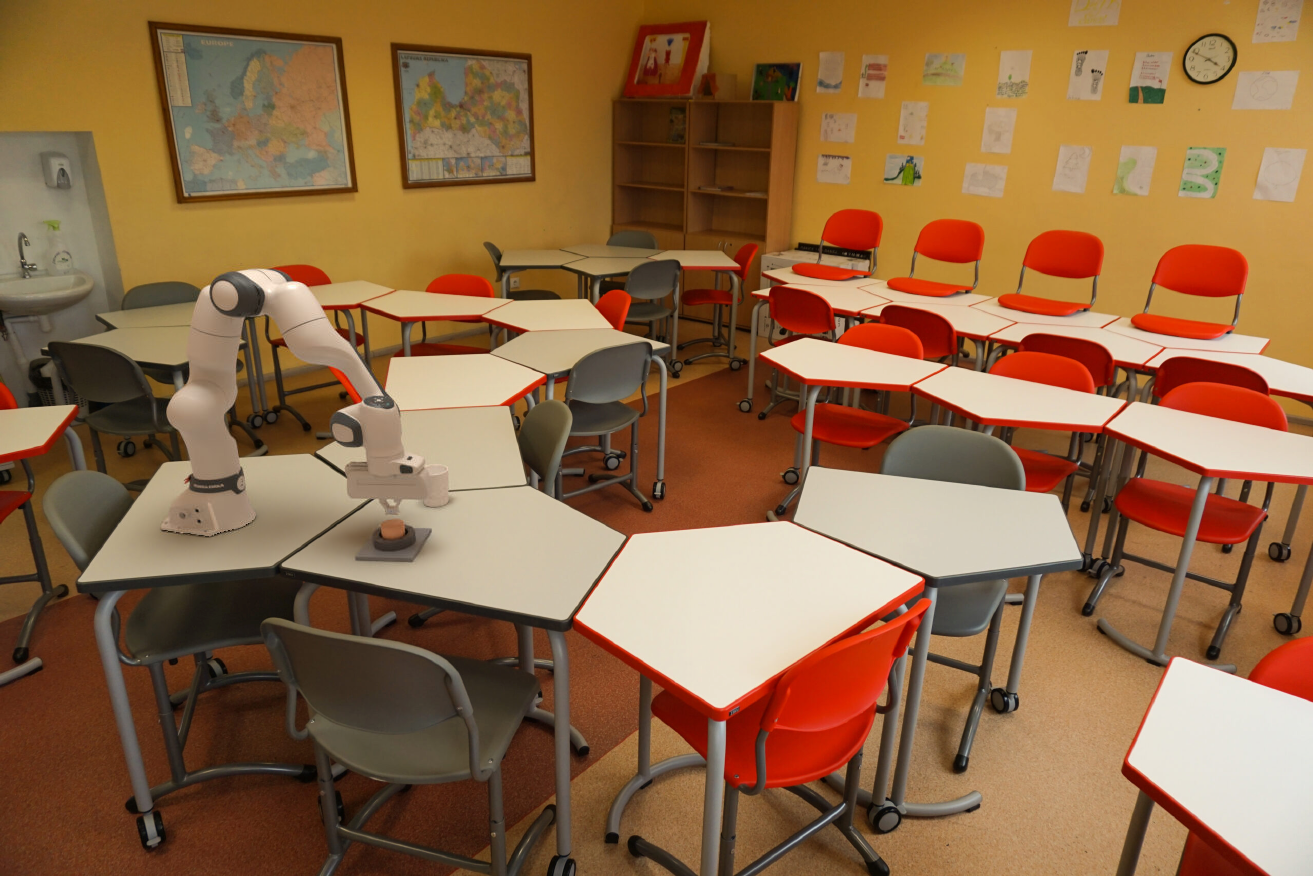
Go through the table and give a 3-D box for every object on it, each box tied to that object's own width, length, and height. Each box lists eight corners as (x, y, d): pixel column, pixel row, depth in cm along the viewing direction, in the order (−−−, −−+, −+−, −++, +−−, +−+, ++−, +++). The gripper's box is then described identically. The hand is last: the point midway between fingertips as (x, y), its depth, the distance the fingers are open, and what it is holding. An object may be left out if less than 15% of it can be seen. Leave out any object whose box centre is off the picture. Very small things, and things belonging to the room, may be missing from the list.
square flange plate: (355, 560, 197) (353, 547, 196) (378, 530, 212) (377, 518, 211) (412, 561, 197) (411, 549, 196) (431, 531, 212) (430, 519, 210)
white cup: (434, 510, 224) (430, 477, 220) (416, 503, 228) (412, 470, 224) (456, 501, 229) (453, 468, 226) (438, 494, 234) (435, 462, 230)
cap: (379, 546, 202) (377, 528, 200) (387, 536, 207) (385, 518, 205) (401, 547, 201) (399, 529, 200) (409, 537, 207) (407, 519, 205)
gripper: (338, 466, 194) (346, 518, 199) (423, 467, 193) (428, 520, 198) (348, 456, 200) (355, 507, 205) (431, 458, 199) (436, 508, 204)
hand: (392, 513), depth 201 cm, fingers closed
